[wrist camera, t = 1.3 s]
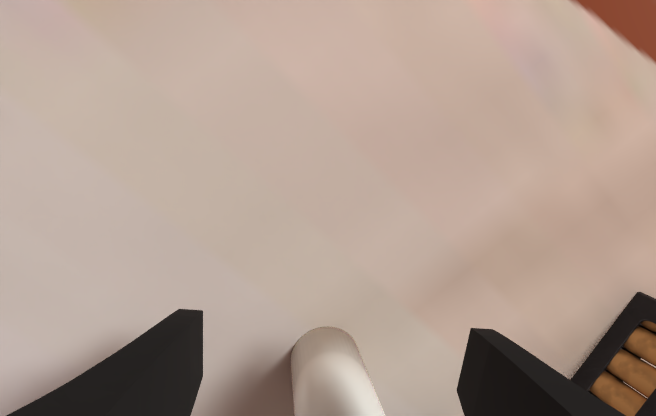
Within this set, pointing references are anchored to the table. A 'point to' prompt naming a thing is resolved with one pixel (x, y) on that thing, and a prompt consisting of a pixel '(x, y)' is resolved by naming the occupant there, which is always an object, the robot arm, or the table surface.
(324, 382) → the white rounded egg shape
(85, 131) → the table surface
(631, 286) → the table surface
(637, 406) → the ammunition clip
